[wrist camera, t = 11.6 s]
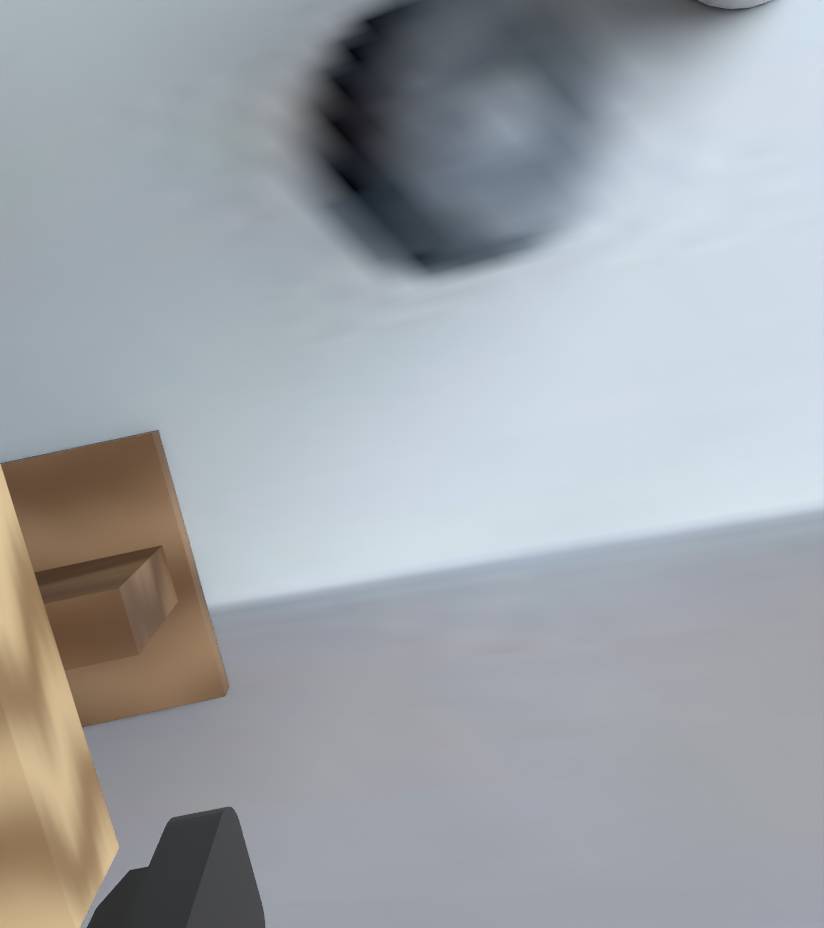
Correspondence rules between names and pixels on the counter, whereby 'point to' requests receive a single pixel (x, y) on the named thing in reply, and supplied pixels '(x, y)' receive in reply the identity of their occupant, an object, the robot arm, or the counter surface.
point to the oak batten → (42, 762)
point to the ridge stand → (117, 577)
